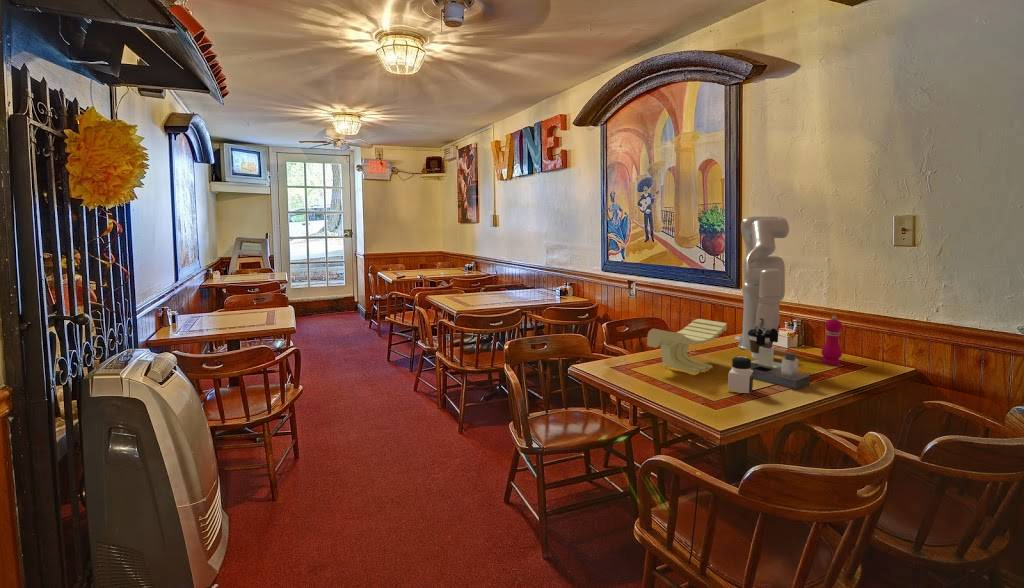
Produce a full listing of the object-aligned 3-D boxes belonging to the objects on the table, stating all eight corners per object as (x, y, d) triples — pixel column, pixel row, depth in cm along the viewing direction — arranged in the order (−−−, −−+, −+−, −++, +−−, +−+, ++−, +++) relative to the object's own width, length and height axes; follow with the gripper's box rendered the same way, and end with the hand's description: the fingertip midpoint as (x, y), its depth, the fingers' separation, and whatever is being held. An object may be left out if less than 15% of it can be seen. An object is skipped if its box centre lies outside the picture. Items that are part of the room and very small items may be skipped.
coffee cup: (743, 355, 240) (745, 328, 239) (770, 356, 238) (772, 329, 236) (749, 361, 230) (750, 333, 228) (777, 362, 228) (778, 334, 226)
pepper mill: (835, 361, 228) (839, 314, 225) (844, 366, 221) (848, 317, 218) (817, 361, 229) (820, 314, 226) (825, 365, 222) (829, 317, 219)
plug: (758, 366, 220) (759, 342, 219) (763, 365, 222) (764, 340, 221) (767, 368, 217) (769, 344, 215) (773, 367, 219) (774, 342, 218)
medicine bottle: (749, 395, 188) (751, 361, 187) (727, 392, 192) (728, 358, 190) (752, 389, 194) (754, 356, 193) (731, 386, 198) (732, 354, 196)
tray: (744, 367, 221) (744, 363, 221) (759, 363, 227) (759, 358, 227) (771, 374, 212) (771, 369, 212) (786, 368, 219) (786, 364, 218)
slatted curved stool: (691, 358, 237) (692, 317, 234) (725, 365, 224) (726, 323, 222) (646, 370, 219) (647, 327, 216) (680, 380, 206) (681, 334, 204)
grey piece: (733, 375, 212) (734, 346, 210) (747, 370, 217) (748, 342, 216) (795, 390, 192) (797, 358, 191) (809, 384, 198) (811, 354, 197)
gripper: (771, 297, 224) (769, 339, 226) (748, 301, 213) (746, 344, 215) (789, 299, 218) (787, 342, 220) (766, 303, 207) (764, 347, 209)
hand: (767, 343), depth 217 cm, fingers open, 9 cm apart
